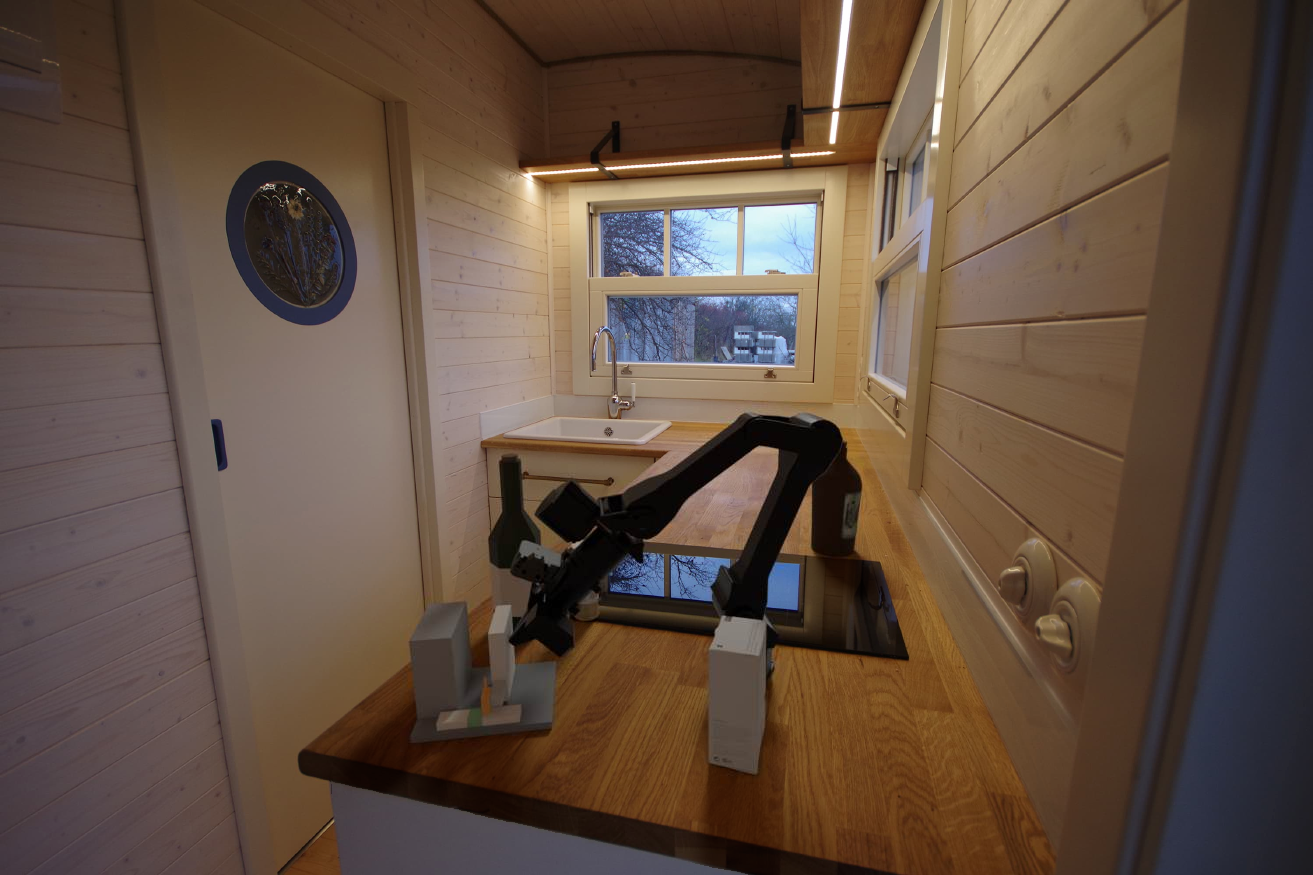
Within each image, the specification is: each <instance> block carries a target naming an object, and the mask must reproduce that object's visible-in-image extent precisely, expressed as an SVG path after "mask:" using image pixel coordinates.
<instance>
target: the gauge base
mask: <svg viewBox="0 0 1313 875" xmlns="http://www.w3.org/2000/svg"><path fill="white" fill-rule="evenodd" d="M467 603H468V602H467V601H465V600H464V601H453V602H452V601H450V602H437V603H428V606H427V607H426V609H425V611H424V612H423V615H422V616H421V618H420V620H419V621H418V623H417V625H416V627H415V629H414V631H413V633H412V634H411V636H410V638H409V640H408V645H409V654H410V655H409V656H410V663H411V671H412V681H413V691H414V699H415V707H416V715H417V716H416V718H417V719H416V722H415V724H414V726H413V728H412V731H411V734H410V738H409V739H410V744H418V743H429V742H437V741H447V740H456V739H457V740H458V739H467V738H476V737H477V738H478V737H484V736H485V737H486V736H495V735H502V734H503V735H504V734H513V733H525V732H531V731H532V732H533V731H541V730H551V729H553V724H554V722H553V721H554V710H555V709H554V708H555V697H556V696H555V694H556V682H557V669H558V668H557V665H558V664H557V660H552V661H550V660H549V661H542V662H541V661H539V662H530V663H528V662H527V663H519V664H516V663H515V672H514V678H513V683H512V688H511V693H510V698H509V701H504V702H503V706H493V707H492V709H491V713H490V714H482V707H481V694H482V691H483V688H484V677H486V678H487V687H491V688H492V679H491V667H490V666H484V667H473V662H472V661H473V660H472V650H471V640H470V639H471V638H470V637H471V636H470V628H469V617H468V604H467Z"/></svg>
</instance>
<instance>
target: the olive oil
mask: <svg viewBox="0 0 1313 875" xmlns="http://www.w3.org/2000/svg"><path fill="white" fill-rule="evenodd" d="M847 446H848V441H847V440H843V443H842V447H841V450H840V452H839V453H838V455H837V456H836V458H835V459H834V461H833V462H832V464H831V465H830V467H829V468H828V470H827V471H826V472H825V473H824V474H822V475H821V476H820V477H819V478H818V479H817V480H815V481H814V482H813V483H812V484H811V528H810V529H811V532H810V533H811V540H810V546H811V548H812V549H813V550H814V551H815V552H816V553H819V554H822V555H825V556H830V557H847V556H850V555H852V554H853V553H854V552H855V549H856V548H855V546H856V536H857V533H858V523H859V522H858V520H859V515H860V514H859V513H860V506H861V498H862V493H863V482H862V477H861V475H860V473H859V472H858V470H857V469H856V468H855V467H854V466H853V464H852V463H851V462H850V461H849V460H848V458H847V457H848V456H847V455H848V447H847Z"/></svg>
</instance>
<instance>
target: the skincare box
mask: <svg viewBox="0 0 1313 875" xmlns="http://www.w3.org/2000/svg"><path fill="white" fill-rule="evenodd" d="M766 625H767V622H766V621H762V620H755V619H747V618H739V617H730V616H722V617H721V619H720V620H719V624H718V627H716V628H715V630H714V637H713V639H712V642H711V644H710V646H709V648H708V654H707V656H708V660H707V663H708V664H707V667H708V670H707V672H708V675H707V676H708V678H707V680H708V682H707V683H708V686H707V687H708V690H707V691H708V692H707V693H708V694H707V696H708V699H707V700H708V704H707V705H708V706H707V707H708V708H707V710H708V717H707V718H708V727H707V728H708V729H707V730H708V732H707V733H708V742H707V743H708V745H707V746H708V757H707V758H708V763H709V764H711V765H715V766H719V767H721V766H722V767H724V768H725V767H726V768H728V769H732V770H736V771H738V772H742V773H746V774H750V775H753V776H754V775H757V774H758V770H759V758H760V752H761V751H760V750H761V744H762V741H763V737H764V732H765V729H766V697H767V696H766V695H767V694H766V689H767V688H766V685H767V682H766Z"/></svg>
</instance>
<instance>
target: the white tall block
mask: <svg viewBox="0 0 1313 875" xmlns="http://www.w3.org/2000/svg"><path fill="white" fill-rule="evenodd" d="M512 633H513V625H512V610H511V605H501V606H496V609H495V612H494V611H493V616H492V619H491V622H490V626H489V629H488V632H487V638H488V651H489V664H490V666H489V667H491V679H492V689H491V693H490V706H491V707H493V706H503V702H504V701H509V698H510V693H511V688H512V683H513V678H514V672H515V665H516V659H515V657H516V656H515V646H513V645H512V644H510V643H509V638H510V636H511V635H512Z"/></svg>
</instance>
